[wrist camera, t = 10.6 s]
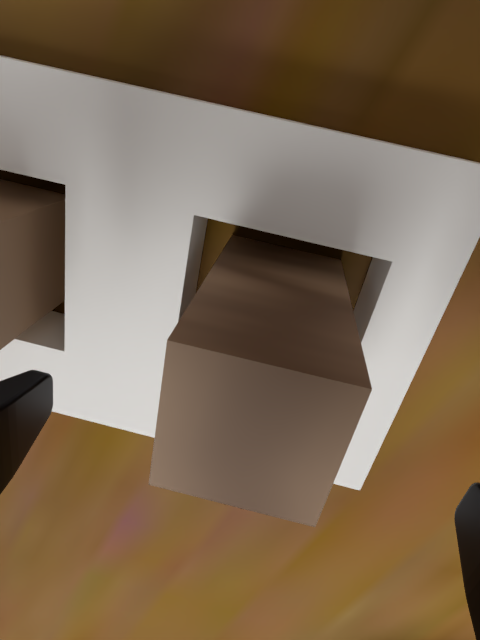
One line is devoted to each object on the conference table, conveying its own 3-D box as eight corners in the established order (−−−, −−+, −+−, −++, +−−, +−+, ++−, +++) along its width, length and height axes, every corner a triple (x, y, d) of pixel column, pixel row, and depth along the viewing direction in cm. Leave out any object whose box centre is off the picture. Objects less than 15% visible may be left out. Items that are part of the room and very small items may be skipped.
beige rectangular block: (214, 330, 17) (148, 484, 10) (232, 234, 15) (167, 340, 8) (311, 353, 17) (315, 526, 10) (340, 259, 15) (371, 389, 8)
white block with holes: (-75, 337, 19) (-299, 466, 12) (-128, 26, 14) (-591, -70, 7) (353, 445, 18) (383, 651, 11) (475, 161, 13) (679, 216, 6)
